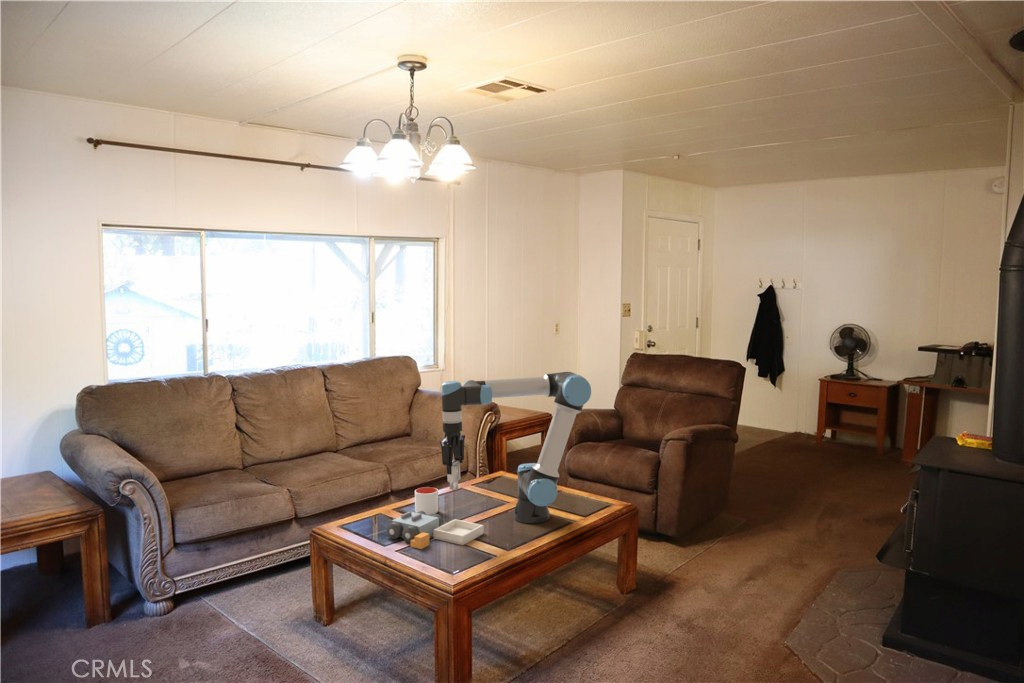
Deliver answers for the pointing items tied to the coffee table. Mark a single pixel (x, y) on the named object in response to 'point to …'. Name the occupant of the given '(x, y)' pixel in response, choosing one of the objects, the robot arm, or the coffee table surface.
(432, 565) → the coffee table surface
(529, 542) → the coffee table surface
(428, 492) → the cup
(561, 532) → the coffee table surface
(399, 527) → the trolley
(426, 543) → the block
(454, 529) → the tray
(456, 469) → the pin
